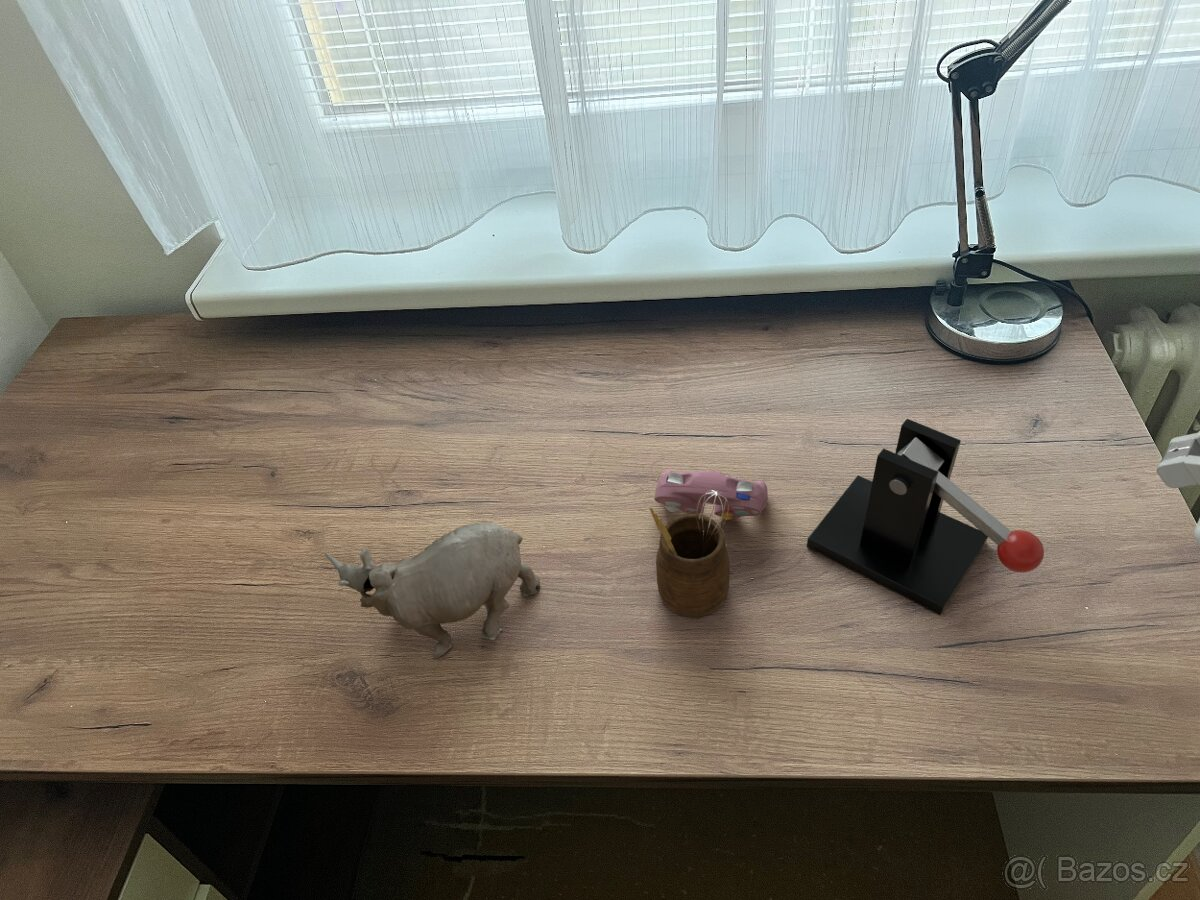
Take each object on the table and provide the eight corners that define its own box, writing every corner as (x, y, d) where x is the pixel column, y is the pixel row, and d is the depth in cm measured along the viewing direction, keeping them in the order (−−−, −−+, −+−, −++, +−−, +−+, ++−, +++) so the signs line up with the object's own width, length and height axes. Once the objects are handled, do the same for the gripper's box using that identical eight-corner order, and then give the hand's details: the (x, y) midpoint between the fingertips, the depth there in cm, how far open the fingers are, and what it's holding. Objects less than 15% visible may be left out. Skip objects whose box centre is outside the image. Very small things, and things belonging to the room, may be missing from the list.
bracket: (986, 543, 74) (1021, 444, 66) (940, 615, 69) (972, 519, 61) (856, 483, 80) (873, 386, 72) (806, 547, 75) (819, 450, 67)
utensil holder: (743, 598, 72) (749, 502, 64) (679, 634, 70) (676, 539, 62) (702, 551, 76) (703, 454, 67) (641, 583, 74) (633, 488, 66)
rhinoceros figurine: (575, 626, 68) (430, 532, 61) (455, 705, 73) (306, 627, 66) (568, 554, 74) (435, 460, 67) (457, 631, 79) (322, 552, 72)
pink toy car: (656, 520, 81) (646, 501, 74) (663, 473, 82) (655, 450, 76) (764, 534, 79) (764, 515, 72) (770, 486, 80) (770, 463, 73)
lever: (1031, 559, 68) (1059, 543, 65) (1015, 587, 66) (1044, 571, 64) (899, 450, 70) (921, 430, 67) (880, 473, 68) (902, 454, 66)
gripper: (1464, 608, 38) (1141, 620, 49) (1514, 346, 48) (1236, 408, 60) (1395, 497, 37) (1082, 536, 48) (1461, 253, 47) (1189, 335, 58)
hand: (1167, 464), depth 54 cm, fingers closed
